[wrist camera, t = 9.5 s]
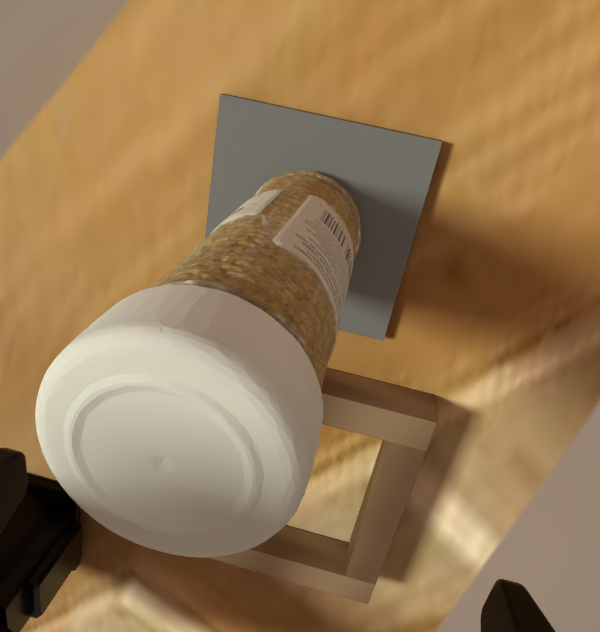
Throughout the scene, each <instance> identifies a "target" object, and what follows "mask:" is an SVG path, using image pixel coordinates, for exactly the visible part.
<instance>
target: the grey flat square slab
mask: <svg viewBox="0 0 600 632" xmlns="http://www.w3.org/2000/svg"><path fill="white" fill-rule="evenodd" d="M441 145H442V140H437V139H433V138H428V137H423V136H419V135H414V134H409V133H405V132H400V131H395V130H391V129H386V128H381V127H377V126H372V125H367V124H363V123H358V122H353V121H349V120H344V119H339V118H335V117H330V116H325V115H321V114H316V113H311V112H307V111H302V110H297V109H293V108H288V107H283V106H279V105H274V104H269V103H265V102H260V101H255V100H251V99H246V98H241V97H237V96H232V95H227V94H220V100H219V109H218V119H217V129H216V138H215V148H214V158H213V167H212V177H211V187H210V196H209V206H208V216H207V225H206V235H205V239H206V238H207V237H208V236H209V235H210V234H211V233H212V232H213V230H214V229H215V228H216V227H217V226H218V225H220V224H221V223H222V222H223V221H224V220H225V219H226V218H228V217H229V216H230V215H231V214H232V213H233V212H234V211H236V210H237V209H238V208H239V207H240V206H241V205H242V204H244V203H245V202H246V201H248V200H249V199H251V198H252V197H253V196H254V194H255V193H256V192H257V191H258V190H259V189H260V187H261V186H262V185H263V184H264V183H265V182H267V181H268V180H270V179H271V178H273V177H276V176H278V175H280V174H284V173H286V172H289V171H297V170H311V171H315V172H317V173H320V174H322V175H324V176H326V177H330V178H332V179H333V180H334V181H335V182H337V183H338V184H339V185H340V186H342V187H343V188H344V189H345V190H346V191H347V192H348V194H349V195H350V196H351V198H352V200H353V202H354V203H355V205H356V206H357V209H358V211H359V216H360V222H361V243H360V246H359V250H358V253H357V255H356V257H355V259H354V261H353V268H352V273H351V278H350V282H349V287H348V292H347V296H346V301H345V305H344V309H343V314H342V318H341V322H340V326H339V330H343V331H347V332H351V333H355V334H359V335H363V336H367V337H371V338H375V339H379V340H383V341H384V338H385V334H386V331H387V328H388V324H389V321H390V318H391V314H392V311H393V307H394V304H395V301H396V297H397V294H398V290H399V287H400V284H401V280H402V277H403V274H404V270H405V267H406V263H407V260H408V257H409V253H410V250H411V246H412V243H413V240H414V236H415V233H416V230H417V226H418V223H419V219H420V216H421V213H422V209H423V206H424V203H425V199H426V196H427V192H428V189H429V186H430V182H431V179H432V175H433V172H434V169H435V165H436V162H437V159H438V155H439V152H440V148H441Z"/></svg>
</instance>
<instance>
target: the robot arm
mask: <svg viewBox="0 0 600 632" xmlns="http://www.w3.org/2000/svg"><path fill="white" fill-rule="evenodd" d="M81 556H82V527H81V524H80V507H79V506H78V505H77V503H76V502H75V501H74V500H73V499H72V498H71V497H70V496H69V495H68V493H67V492H66V491H65V490H64V489H63V487H62V486H61V485H59V484H56V483H52V482H49V481H45V480H42V479H38V478H35V477H31V476H28V475H27V469H26V459H25V455H24V454H23V453H22V452H20V451H16V450H12V449H9V448H0V632H20V631H21V630H22V628H23V627H24V625H25V624H26V622H27V621H28V619H29V618H30V617H33V618H38V617H40V616H41V615H42V614H43V613H44V612H45V610H46V608H47V607H48V605H49V604H50V602H51V601H52V599H53V598H54V596H55V595H56V593H57V592H58V590H59V589H60V587H61V586H62V584H63V583H64V581H65V580H66V578H67V577H68V575H69V574H70V572H71V571H74V570H76V569H77V567H78V566H79V564H80V557H81ZM481 632H555V630H554V629H553V627H552V626H551V624H550V623H549V622H548V620H547V619H546V617H545V616H544V614H543V613H542V611H541V610H540V609H539V607H538V606H537V604H536V603H535V601H534V600H533V598H532V597H531V595H530V594H529V593H528V591H527V590H526V589H525V587H524V586H523V585H521V584H519V583H516V582H512V581H508V580H504V579H499V580H497V581H496V583H495V584H494V586H493V588H492V590H491V592H490V594H489V596H488V598H487V600H486V602H485V604H484V606H483V609H482V613H481Z"/></svg>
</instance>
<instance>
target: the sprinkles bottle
mask: <svg viewBox="0 0 600 632" xmlns="http://www.w3.org/2000/svg"><path fill="white" fill-rule="evenodd" d="M360 243H361V222H360V216H359V211H358V209H357V206H356V205H355V203H354V202H353V200H352V198H351V196H350V195H349V194H348V192H347V191H346V190H345V189H344V188H343V187H342V186H340V185H339V184H338V183H337V182H335V181H334V180H333V179H332V178H330V177H326V176H324V175H322V174H320V173H317V172H315V171H311V170H297V171H289V172H286V173H284V174H280V175H278V176H276V177H273V178H271V179H270V180H268V181H267V182H265V183H264V184H263V185H262V186H261V187H260V189H259V190H258V191H257V192H256V193H255V194H254V196H253V197H252V198H251V199H249V200H248V201H246V202H245V203H244V204H242V205H241V206H240V207H239V208H238V209H237V210H236V211H234V212H233V213H232V214H231V215H230V216H229V217H228V218H226V219H225V220H224V221H223V222H222V223H221V224H220V225H218V226H217V227H216V228H215V229H214V230H213V232H212V233H211V234H210V235H209V236H208V237H207V238H206V239H205V240H204V241H202V242H201V243H200V244H199V245H198V246H197V247H196V248H195V249H194V250H193V251H192V253H191V254H190V255H188V256H187V257H186V258H185V259H183V260H182V261H181V262H180V263H178V264H177V265H176V266H175V268H173V269H172V270H171V271H170V272H169V273H168V274H167V275H166V276H165V277H164V278H162V279H161V280H160V281H159V282H158V283H157V284H156V285H155V286H153V287H152V288H148V289H145V290H142V291H139V292H136V293H135V294H133V295H130V296H128V297H126V298H124V299H123V300H121V301H120V302H118V303H117V304H115V305H114V306H113V307H111V308H110V309H109V310H108V311H106V312H105V313H104V314H103V315H102V316H100V317H99V318H98V319H97V320H96V321H94V322H93V323H92V324H91V325H90V326H89V327H88V328H86V329H85V330H84V331H83V332H82V333H81V334H80V335H79V336H78V337H77V338H75V339H74V340H73V341H72V342H71V343H70V344H69V345H68V346H67V347H66V348H65V349H64V350H63V351H62V352H61V353H60V354H59V355H58V356H57V357H56V359H55V360H54V361H53V362H52V364H51V365H50V366H49V368H48V370H47V372H46V373H45V375H44V378H43V380H42V383H41V385H40V389H39V392H38V396H37V402H36V412H35V417H36V429H37V435H38V438H39V442H40V445H41V448H42V452H43V455H44V457H45V459H46V461H47V463H48V465H49V467H50V469H51V471H52V472H53V474H54V476H55V478H56V479H57V481H58V482H59V483H60V485H61V486H62V487H63V489H64V490H65V491H66V492H67V493H68V495H69V496H70V497H71V498H72V499H73V500H74V501H75V502H76V503H77V505H78V506H79V507H80V508H82V509H83V510H84V511H85V512H86V513H87V514H89V515H90V516H91V517H92V518H93V519H95V520H96V521H97V522H99V523H100V524H101V525H103V526H104V527H106V528H107V529H109V530H110V531H112V532H114V533H116V534H117V535H119V536H121V537H123V538H125V539H127V540H130V541H132V542H134V543H136V544H139V545H141V546H144V547H147V548H150V549H153V550H157V551H161V552H164V553H169V554H173V555H179V556H185V557H198V558H200V557H218V556H225V555H230V554H235V553H239V552H243V551H245V550H248V549H251V548H253V547H256V546H258V545H259V544H261V543H263V542H265V541H266V540H268V539H269V538H271V537H272V536H273V535H275V534H276V533H277V532H279V531H280V530H281V529H282V528H283V527H284V526H285V525H286V524H287V523H288V521H289V520H290V519H291V517H292V516H293V515H294V513H295V512H296V511H297V509H298V507H299V505H300V503H301V500H302V498H303V496H304V493H305V490H306V487H307V484H308V480H309V476H310V473H311V470H312V466H313V463H314V459H315V455H316V451H317V447H318V442H319V438H320V433H321V428H322V422H323V399H322V393H321V388H322V383H323V380H324V375H325V372H326V368H327V365H328V361H329V359H330V357H331V355H332V352H333V350H334V347H335V343H336V339H337V335H338V331H339V326H340V322H341V318H342V314H343V309H344V305H345V301H346V296H347V292H348V287H349V282H350V278H351V273H352V268H353V261H354V259H355V257H356V255H357V253H358V250H359V246H360Z"/></svg>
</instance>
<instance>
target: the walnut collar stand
mask: <svg viewBox="0 0 600 632" xmlns="http://www.w3.org/2000/svg"><path fill="white" fill-rule="evenodd" d="M321 393H322V399H323V422H322V424H324V425H328V426H332V427H336V428H339V429H343V430H347V431H351V432H355V433H358V434H362V435H366V436H370V437H374V438H377V439H381V440H383V441H382V444H381V447H380V450H379V453H378V456H377V459H376V462H375V465H374V469H373V472H372V475H371V478H370V481H369V484H368V487H367V490H366V493H365V496H364V499H363V502H362V505H361V508H360V511H359V514H358V517H357V520H356V523H355V526H354V530H353V533H352V536H351V539H350V542H349V543H346V542H343V541H339V540H336V539H332V538H328V537H325V536H321V535H318V534H314V533H310V532H307V531H303V530H300V529H296V528H293V527H289V526H284V527H283V528H282V529H281V530H280V531H279V532H277V533H276V534H275V535H273V536H272V537H271V538H269V539H268V540H266V541H265V542H263V543H261V544H259V545H258V546H256V547H253V548H251V549H248V550H245V551H243V552H239V553H235V554H230V555H225V556H218V557H206V558H210V559H213V560H216V561H220V562H223V563H227V564H230V565H234V566H237V567H241V568H244V569H248V570H251V571H255V572H258V573H262V574H265V575H269V576H272V577H275V578H279V579H282V580H286V581H289V582H293V583H296V584H300V585H303V586H307V587H310V588H314V589H317V590H321V591H324V592H328V593H331V594H334V595H338V596H341V597H345V598H348V599H352V600H355V601H359V602H362V603H366V604H368V603H369V600H370V597H371V595H372V592H373V590H374V587H375V584H376V582H377V579H378V576H379V574H380V571H381V569H382V566H383V563H384V561H385V558H386V556H387V553H388V550H389V548H390V545H391V542H392V540H393V537H394V535H395V532H396V529H397V527H398V524H399V521H400V519H401V516H402V514H403V511H404V508H405V506H406V503H407V501H408V498H409V495H410V493H411V490H412V487H413V485H414V482H415V480H416V477H417V474H418V472H419V469H420V467H421V464H422V461H423V459H424V456H425V453H426V451H427V448H428V446H429V443H430V440H431V438H432V435H433V432H434V430H435V427H436V425H437V417H436V407H435V397H434V395H432V394H428V393H424V392H420V391H416V390H412V389H408V388H404V387H400V386H396V385H392V384H388V383H384V382H380V381H376V380H372V379H369V378H365V377H361V376H357V375H353V374H349V373H345V372H341V371H337V370H333V369H329V368H326V372H325V375H324V380H323V383H322V388H321Z"/></svg>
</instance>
